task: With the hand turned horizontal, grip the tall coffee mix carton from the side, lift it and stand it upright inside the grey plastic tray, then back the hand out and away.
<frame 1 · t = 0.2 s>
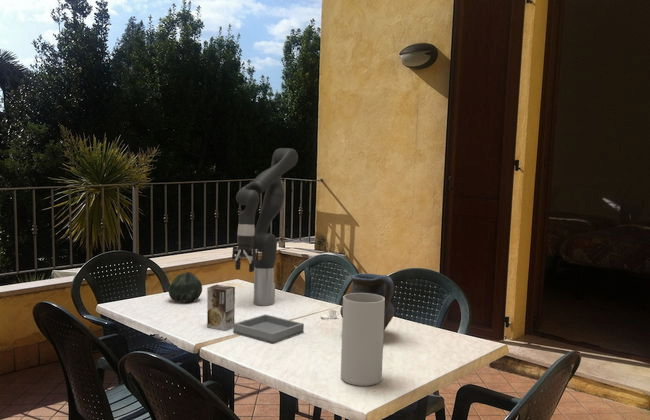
hand: (244, 270, 237), 17 cm above the table, tool pointing down, fingers open, 8 cm apart
teacup and saucer: (328, 318, 231), on the table
pitcher: (368, 337, 204), on the table
coffee box: (220, 327, 211), on the table
cylinder vase: (361, 379, 162), on the table
squash: (185, 301, 250), on the table
tray: (268, 332, 205), on the table
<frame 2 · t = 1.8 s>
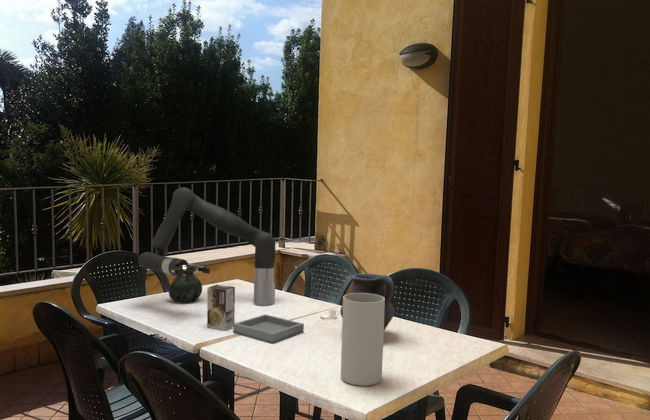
hand: (201, 272, 216), 20 cm above the table, tool horizontal, fingers open, 8 cm apart
nothing on the table moved.
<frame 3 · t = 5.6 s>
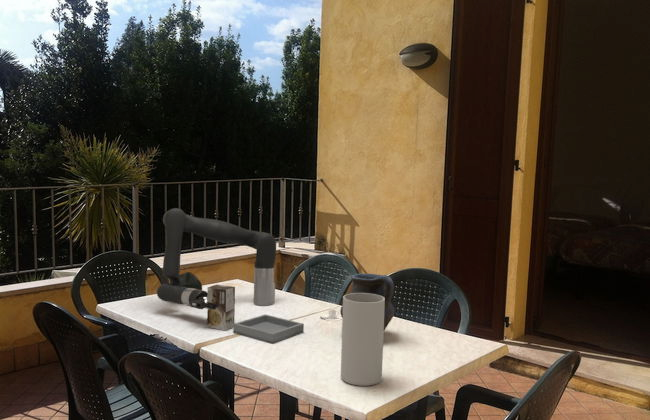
hand: (222, 305, 209), 9 cm above the table, tool horizontal, fingers closed on coffee box, 7 cm apart
coffee box: (220, 327, 211), on the table, touching gripper
everything else where it was.
when the fingers open (11 cm above the table, at t = 11.5 s): coffee box drops 1 cm, resting on tray.
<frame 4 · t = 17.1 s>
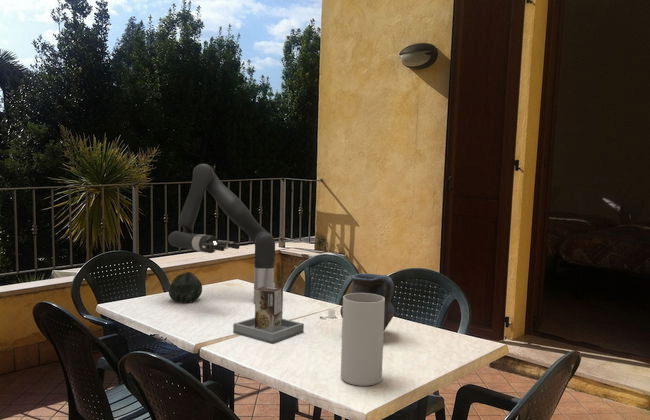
hand: (231, 247, 221), 30 cm above the table, tool horizontal, fingers open, 8 cm apart
coffee box: (268, 330, 205), point 1 cm above the table, touching tray
at the end: coffee box inside the target area on the tray (0.2 cm from its centre), point 0.8 cm above the tray's base; coffee box tilted 0°; the gripper is holding nothing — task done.
